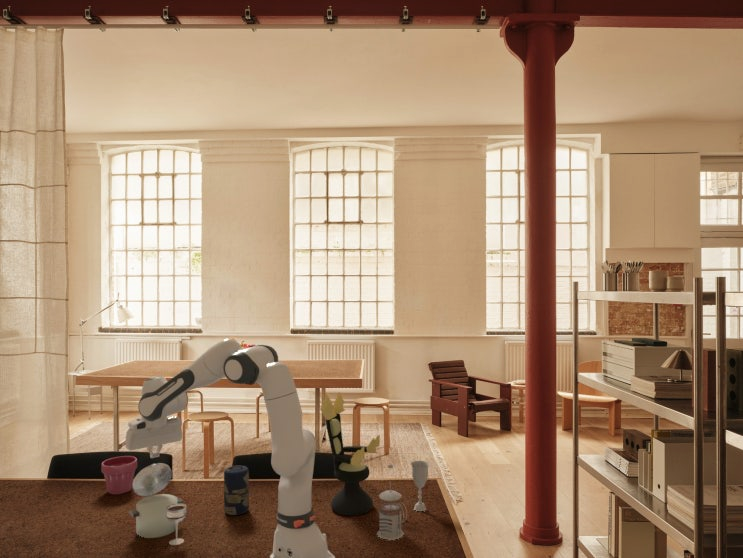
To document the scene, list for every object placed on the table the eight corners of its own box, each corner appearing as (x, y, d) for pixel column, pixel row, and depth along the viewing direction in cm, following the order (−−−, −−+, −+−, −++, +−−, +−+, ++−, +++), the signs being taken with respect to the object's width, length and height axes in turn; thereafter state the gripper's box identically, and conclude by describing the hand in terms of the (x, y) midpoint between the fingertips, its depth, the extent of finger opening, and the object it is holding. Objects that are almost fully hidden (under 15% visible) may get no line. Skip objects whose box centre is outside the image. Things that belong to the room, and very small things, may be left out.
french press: (387, 525, 208) (387, 457, 208) (413, 534, 200) (413, 464, 200) (370, 535, 200) (370, 464, 200) (397, 544, 193) (397, 471, 193)
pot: (188, 528, 206) (188, 501, 206) (138, 543, 194) (137, 514, 194) (174, 516, 216) (174, 490, 216) (125, 529, 205) (125, 502, 205)
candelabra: (365, 521, 211) (364, 401, 211) (311, 513, 218) (310, 397, 218) (380, 502, 229) (380, 391, 229) (330, 495, 236) (330, 388, 236)
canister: (242, 518, 215) (242, 470, 214) (219, 515, 216) (219, 469, 216) (253, 507, 224) (252, 462, 224) (230, 506, 226) (230, 461, 226)
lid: (174, 461, 210) (172, 457, 212) (136, 469, 201) (134, 465, 203) (169, 490, 215) (167, 486, 217) (130, 500, 206) (129, 495, 207)
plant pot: (101, 487, 246) (101, 458, 246) (136, 482, 252) (136, 453, 252) (101, 499, 233) (101, 468, 233) (138, 493, 239) (137, 463, 239)
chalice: (408, 510, 221) (407, 464, 221) (414, 504, 227) (414, 459, 227) (425, 514, 217) (425, 467, 217) (431, 507, 223) (431, 462, 223)
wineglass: (189, 536, 199) (189, 503, 199) (183, 546, 192) (183, 511, 192) (169, 537, 199) (169, 503, 199) (163, 546, 192) (163, 511, 192)
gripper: (178, 414, 220) (178, 449, 220) (123, 423, 207) (124, 460, 207) (184, 417, 215) (185, 453, 216) (129, 426, 202) (129, 465, 202)
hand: (154, 457), depth 211 cm, fingers closed
